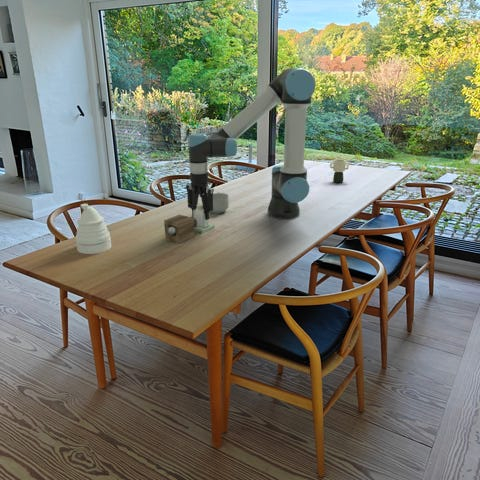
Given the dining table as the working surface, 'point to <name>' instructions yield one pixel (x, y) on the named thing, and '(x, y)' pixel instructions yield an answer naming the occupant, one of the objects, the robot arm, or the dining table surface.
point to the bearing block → (180, 228)
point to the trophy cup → (338, 169)
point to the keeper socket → (204, 228)
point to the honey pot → (92, 232)
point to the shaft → (173, 230)
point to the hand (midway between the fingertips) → (201, 225)
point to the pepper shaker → (199, 215)
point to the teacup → (220, 202)
